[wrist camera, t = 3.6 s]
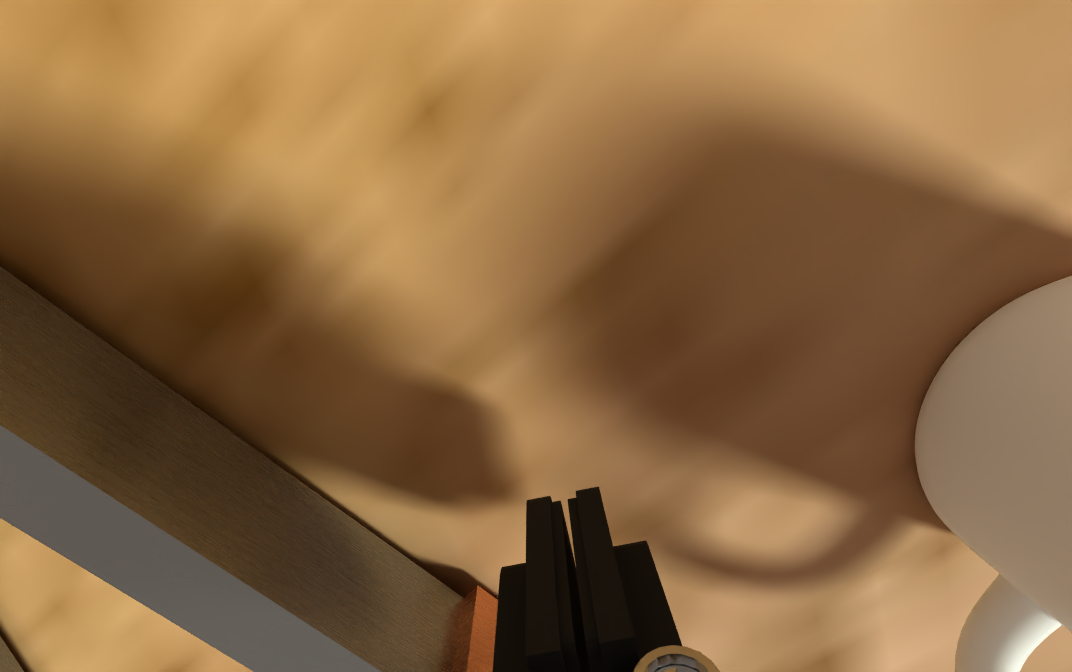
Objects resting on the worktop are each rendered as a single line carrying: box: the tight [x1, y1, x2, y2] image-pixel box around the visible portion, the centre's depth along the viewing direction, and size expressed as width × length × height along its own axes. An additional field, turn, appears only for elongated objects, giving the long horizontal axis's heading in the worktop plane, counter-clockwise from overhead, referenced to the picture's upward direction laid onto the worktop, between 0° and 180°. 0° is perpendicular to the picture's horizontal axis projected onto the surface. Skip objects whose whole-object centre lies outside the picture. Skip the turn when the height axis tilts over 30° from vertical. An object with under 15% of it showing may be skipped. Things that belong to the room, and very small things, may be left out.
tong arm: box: [0, 266, 498, 672], centre depth 10 cm, size 24×5×5 cm, turn 47°
